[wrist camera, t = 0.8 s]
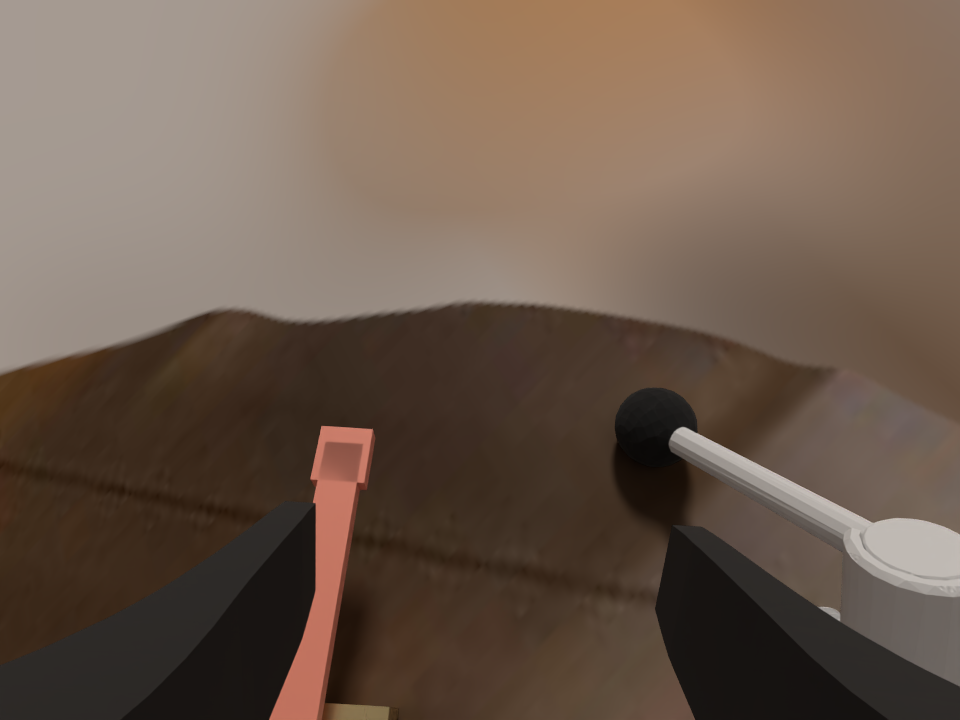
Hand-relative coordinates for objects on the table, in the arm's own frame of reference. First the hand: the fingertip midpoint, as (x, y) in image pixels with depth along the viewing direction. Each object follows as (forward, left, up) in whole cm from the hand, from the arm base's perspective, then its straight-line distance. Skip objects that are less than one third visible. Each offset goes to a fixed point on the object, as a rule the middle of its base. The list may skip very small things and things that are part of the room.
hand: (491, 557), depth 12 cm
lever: (0, +6, -13) cm, 14 cm away
